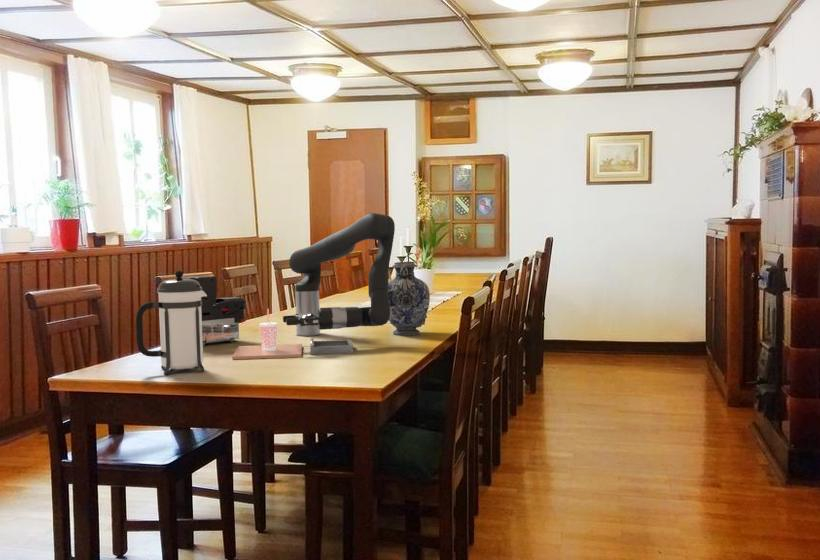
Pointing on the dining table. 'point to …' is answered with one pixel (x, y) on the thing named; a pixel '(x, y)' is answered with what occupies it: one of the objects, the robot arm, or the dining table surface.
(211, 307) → the bill acceptor
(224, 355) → the dining table surface
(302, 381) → the dining table surface
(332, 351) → the square metal frame
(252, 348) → the terracotta tile
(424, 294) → the decorative vase
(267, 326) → the beverage cup
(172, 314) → the coffee press
